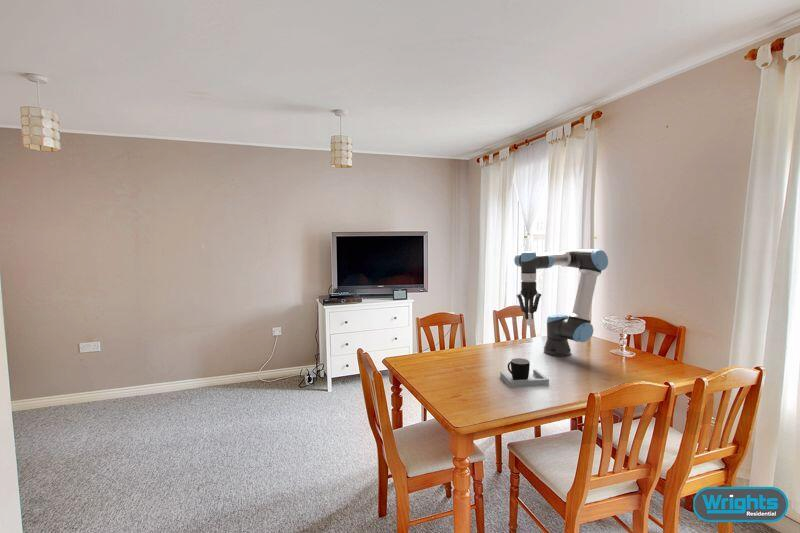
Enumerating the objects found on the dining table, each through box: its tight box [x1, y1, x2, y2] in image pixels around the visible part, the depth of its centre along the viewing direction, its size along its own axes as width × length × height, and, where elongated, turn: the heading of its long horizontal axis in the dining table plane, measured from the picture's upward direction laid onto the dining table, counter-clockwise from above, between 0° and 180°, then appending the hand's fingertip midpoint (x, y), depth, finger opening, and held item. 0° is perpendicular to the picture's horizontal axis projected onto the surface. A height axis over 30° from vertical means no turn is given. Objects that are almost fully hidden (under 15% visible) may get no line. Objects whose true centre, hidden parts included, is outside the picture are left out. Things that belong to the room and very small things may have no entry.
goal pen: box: [499, 368, 550, 389], centre depth 188 cm, size 14×19×3 cm
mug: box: [507, 357, 531, 380], centre depth 189 cm, size 12×9×10 cm
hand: (529, 325), depth 201 cm, fingers closed
